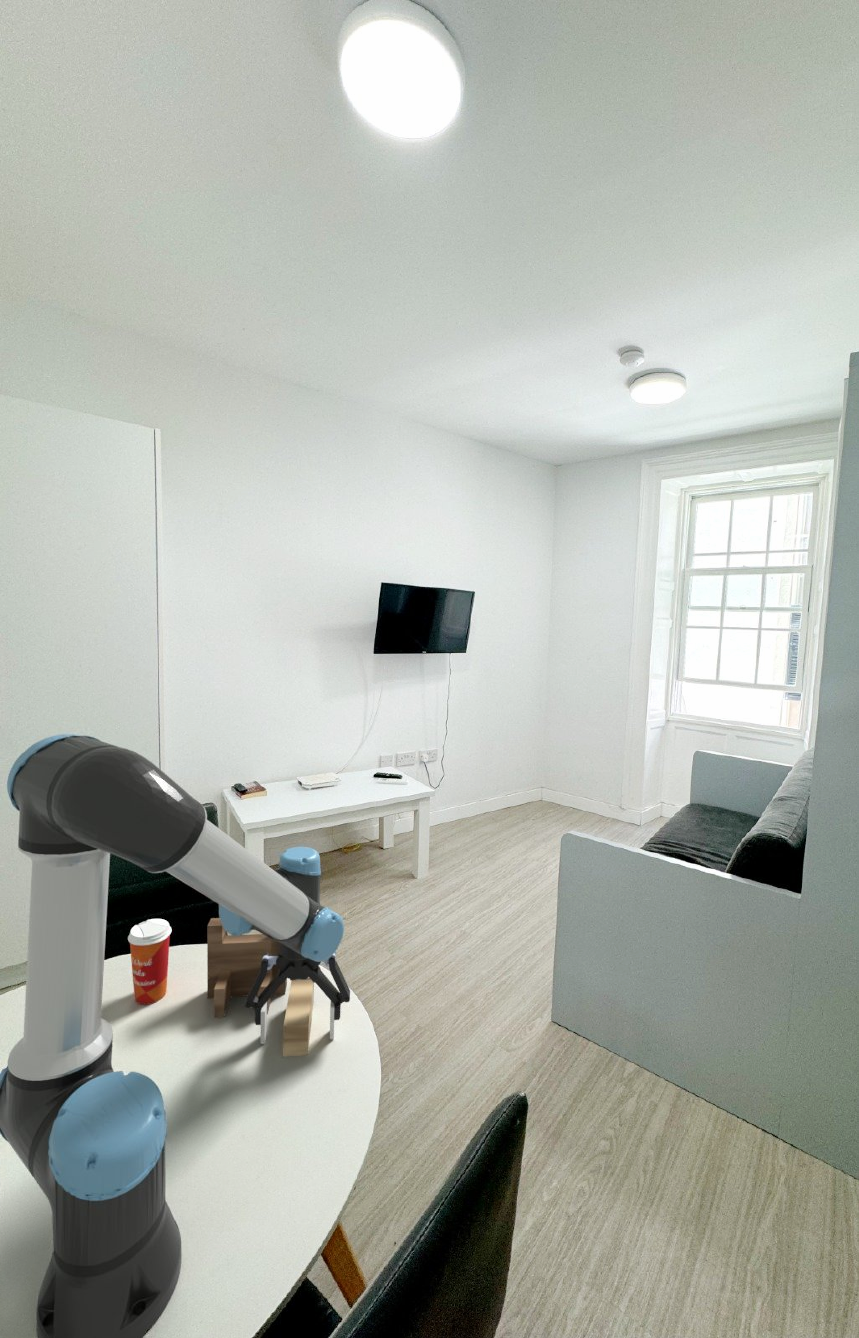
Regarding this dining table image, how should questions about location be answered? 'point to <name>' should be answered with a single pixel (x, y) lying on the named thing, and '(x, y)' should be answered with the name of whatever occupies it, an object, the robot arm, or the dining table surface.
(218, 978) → the brown notched piece
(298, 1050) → the tan wooden block
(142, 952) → the coffee cup
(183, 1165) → the dining table surface
